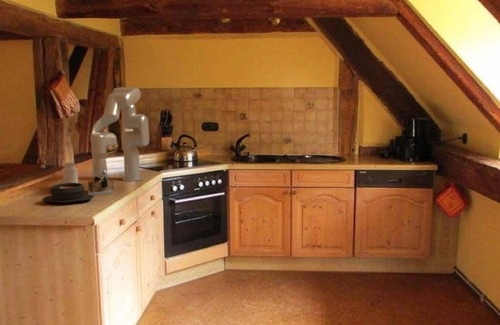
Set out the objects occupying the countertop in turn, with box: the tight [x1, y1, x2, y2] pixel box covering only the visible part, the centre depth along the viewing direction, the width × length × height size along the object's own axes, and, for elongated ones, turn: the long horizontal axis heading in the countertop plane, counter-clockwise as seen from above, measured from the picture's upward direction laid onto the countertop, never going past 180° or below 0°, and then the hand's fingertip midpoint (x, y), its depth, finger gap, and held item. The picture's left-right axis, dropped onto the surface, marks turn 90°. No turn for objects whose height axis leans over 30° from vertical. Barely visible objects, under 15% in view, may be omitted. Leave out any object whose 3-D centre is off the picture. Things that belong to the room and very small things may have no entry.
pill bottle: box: [62, 162, 79, 184], centre depth 256 cm, size 8×8×15 cm
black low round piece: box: [41, 182, 95, 205], centre depth 223 cm, size 25×19×8 cm
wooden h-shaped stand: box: [87, 178, 115, 192], centre depth 245 cm, size 12×6×5 cm, turn 131°
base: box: [87, 181, 114, 196], centre depth 245 cm, size 13×13×6 cm
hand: (101, 186), depth 245 cm, fingers open, 9 cm apart
